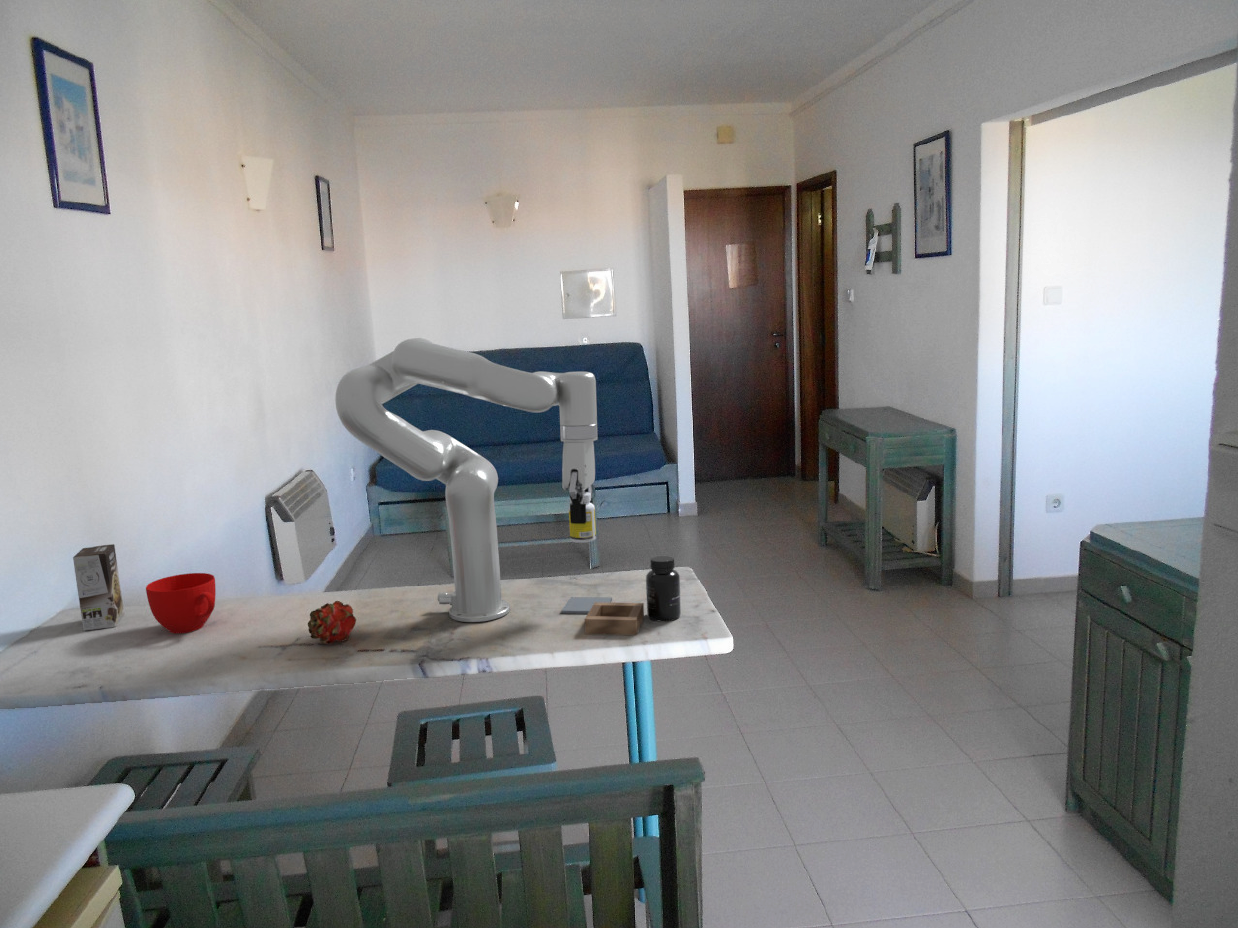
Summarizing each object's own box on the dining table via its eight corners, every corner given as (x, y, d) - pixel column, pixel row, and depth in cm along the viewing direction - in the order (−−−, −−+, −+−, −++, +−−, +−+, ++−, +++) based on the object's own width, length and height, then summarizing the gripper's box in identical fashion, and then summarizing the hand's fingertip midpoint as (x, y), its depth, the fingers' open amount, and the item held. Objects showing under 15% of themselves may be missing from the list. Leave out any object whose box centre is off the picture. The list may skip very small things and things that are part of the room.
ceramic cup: (186, 646, 179) (180, 597, 177) (139, 633, 188) (132, 586, 186) (244, 625, 189) (239, 579, 188) (197, 614, 199) (191, 569, 197)
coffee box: (116, 627, 192) (106, 553, 190) (82, 631, 191) (71, 557, 188) (125, 613, 201) (115, 543, 198) (93, 618, 199) (82, 546, 196)
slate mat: (561, 613, 188) (561, 610, 188) (571, 599, 197) (571, 596, 197) (604, 614, 187) (604, 611, 187) (612, 600, 195) (612, 597, 195)
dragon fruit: (313, 660, 173) (346, 646, 184) (345, 635, 171) (377, 623, 182) (289, 623, 174) (323, 611, 185) (321, 598, 172) (353, 588, 183)
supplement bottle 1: (579, 535, 193) (578, 490, 191) (601, 538, 190) (599, 492, 188) (564, 541, 188) (563, 495, 186) (586, 544, 185) (584, 497, 184)
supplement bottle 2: (681, 621, 180) (679, 562, 178) (647, 622, 181) (645, 564, 179) (680, 609, 187) (678, 553, 185) (647, 611, 187) (644, 554, 185)
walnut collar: (585, 633, 176) (584, 619, 175) (595, 616, 185) (594, 602, 185) (636, 634, 174) (635, 619, 173) (644, 617, 184) (643, 602, 183)
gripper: (571, 427, 194) (574, 510, 197) (549, 439, 178) (553, 529, 181) (605, 427, 193) (608, 510, 196) (587, 439, 176) (590, 530, 179)
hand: (582, 518), depth 188 cm, fingers closed on supplement bottle 1, 5 cm apart
